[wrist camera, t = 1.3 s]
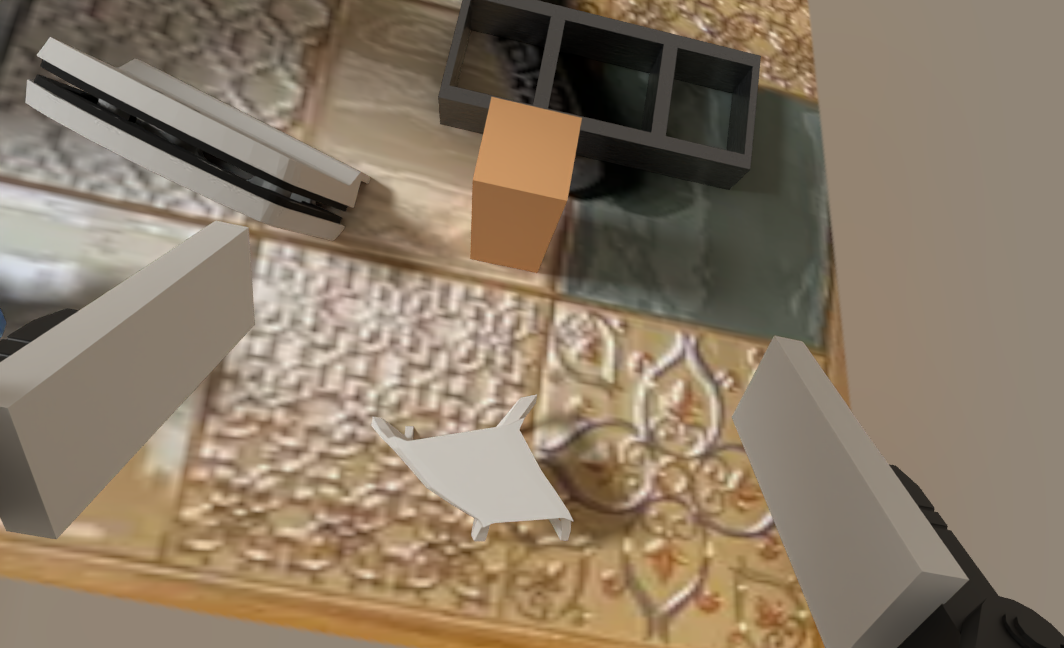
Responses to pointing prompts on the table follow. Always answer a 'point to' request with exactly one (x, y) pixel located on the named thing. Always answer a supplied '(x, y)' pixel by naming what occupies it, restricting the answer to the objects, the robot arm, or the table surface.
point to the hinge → (195, 140)
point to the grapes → (2, 323)
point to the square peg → (521, 183)
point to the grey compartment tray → (515, 13)
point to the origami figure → (483, 472)
